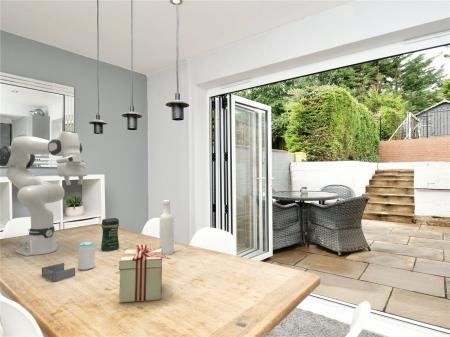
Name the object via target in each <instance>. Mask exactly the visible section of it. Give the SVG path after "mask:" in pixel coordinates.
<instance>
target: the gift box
mask: <svg viewBox="0 0 450 337" xmlns="http://www.w3.org/2000/svg"><path fill="white" fill-rule="evenodd" d="M161 248H162V247H161ZM163 259H166V260H170V259H171V257H167V255H163V254H162V249H160V247H147V244H146V243H145V244H138V245H136V249H126V250H124V252H123V253H122V256H121V258H120V259H119V261H118V270H119V291H118V292H119V298H118V300H119V301H118V302H119V303H130V302H131V303H132V302H143V301H144V302H145V301H146V302H147V301H155V300H161V297H162V296H161V294H162V282H163V280H162V278H163V275H162V274H163V272H162V270H163Z"/></svg>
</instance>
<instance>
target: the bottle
mask: <svg viewBox="0 0 450 337" xmlns="http://www.w3.org/2000/svg"><path fill="white" fill-rule="evenodd" d="M162 204H163V205H162V206H163V207H162V209H163V210H162V211H163V212H162V214H160V216H159V249H162V254H163V255H164V256H169V255H173V254H174V252H175V246H174V244H175V242H174V238H175V237H174V235H175V234H174V224H175V223H174V219H175V218H174V216H173V214H172V213H171V206H170V205H171V202H170V200H169V199H164V200H163V202H162ZM161 247H162V248H161Z"/></svg>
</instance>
